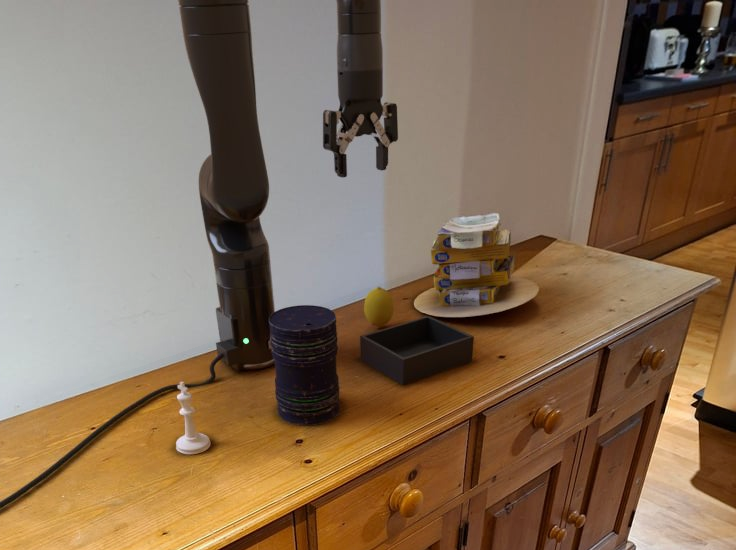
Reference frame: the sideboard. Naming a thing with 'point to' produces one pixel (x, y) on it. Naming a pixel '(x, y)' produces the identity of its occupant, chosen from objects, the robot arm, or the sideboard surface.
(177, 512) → the sideboard surface
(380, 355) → the bin
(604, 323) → the sideboard surface
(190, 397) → the chess piece
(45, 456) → the sideboard surface
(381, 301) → the lemon
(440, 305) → the plate of stacked packets
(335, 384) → the storage jar
